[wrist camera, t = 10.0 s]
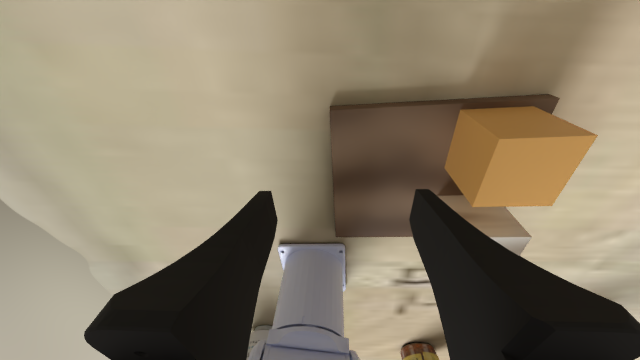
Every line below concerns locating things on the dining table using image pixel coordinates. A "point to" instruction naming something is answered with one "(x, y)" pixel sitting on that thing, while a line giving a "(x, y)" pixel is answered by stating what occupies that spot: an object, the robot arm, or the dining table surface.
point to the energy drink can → (258, 336)
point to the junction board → (409, 166)
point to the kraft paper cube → (514, 155)
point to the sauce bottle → (418, 352)
